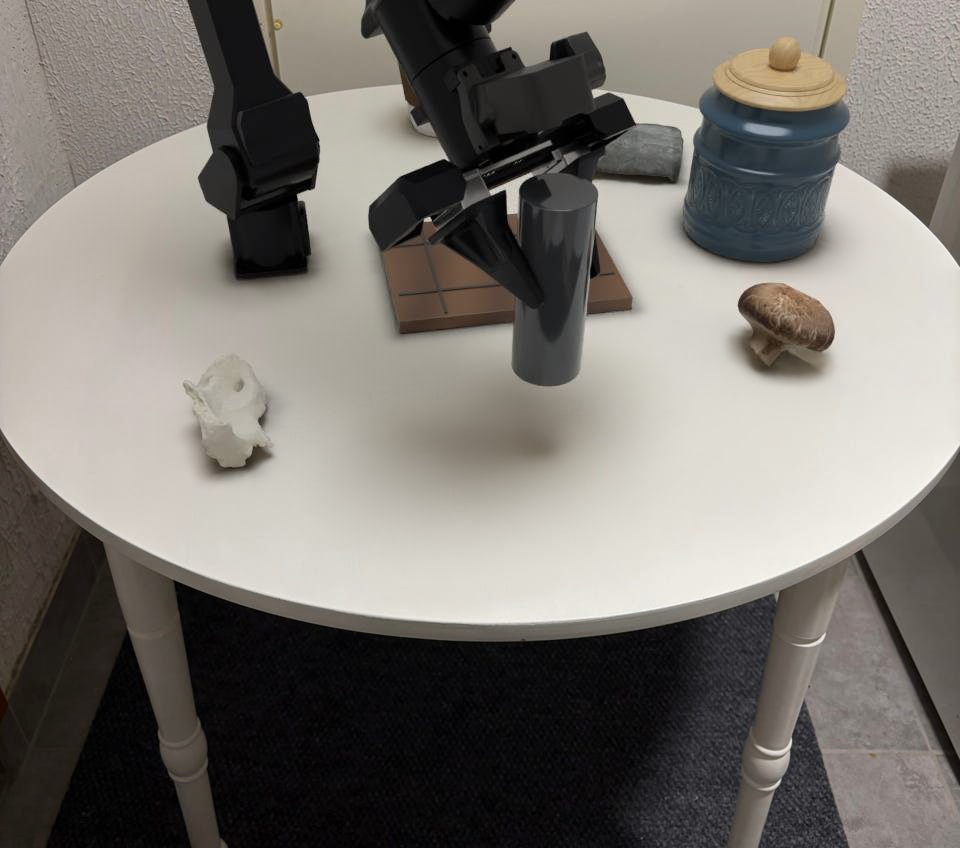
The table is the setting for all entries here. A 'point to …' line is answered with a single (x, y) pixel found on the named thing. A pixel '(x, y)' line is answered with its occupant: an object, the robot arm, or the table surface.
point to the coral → (229, 410)
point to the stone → (645, 152)
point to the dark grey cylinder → (554, 276)
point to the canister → (765, 154)
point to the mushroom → (784, 320)
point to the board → (471, 286)
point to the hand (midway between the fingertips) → (567, 291)
